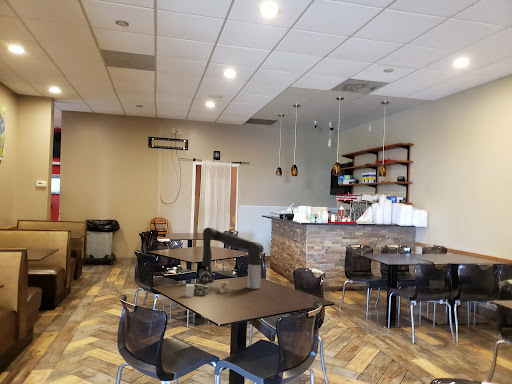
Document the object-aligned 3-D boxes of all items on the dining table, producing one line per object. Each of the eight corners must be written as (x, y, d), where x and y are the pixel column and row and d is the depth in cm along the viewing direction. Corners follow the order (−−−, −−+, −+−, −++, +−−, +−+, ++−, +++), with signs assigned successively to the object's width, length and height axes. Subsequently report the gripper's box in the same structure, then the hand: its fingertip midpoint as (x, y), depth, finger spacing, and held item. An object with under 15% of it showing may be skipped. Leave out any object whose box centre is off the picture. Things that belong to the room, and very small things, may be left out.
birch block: (227, 291, 253) (227, 281, 253) (227, 293, 248) (228, 282, 248) (220, 291, 252) (220, 281, 253) (220, 292, 247) (221, 282, 248)
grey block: (193, 294, 238) (194, 284, 238) (193, 296, 233) (193, 285, 233) (185, 294, 237) (186, 284, 237) (185, 296, 232) (186, 285, 232)
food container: (194, 292, 248) (189, 293, 238) (196, 283, 249) (191, 284, 239) (211, 295, 245) (207, 296, 236) (213, 286, 246) (208, 287, 237)
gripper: (196, 272, 265) (196, 277, 248) (214, 272, 267) (215, 277, 250) (196, 282, 265) (195, 288, 248) (214, 283, 267) (215, 288, 250)
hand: (205, 282), depth 249 cm, fingers closed
